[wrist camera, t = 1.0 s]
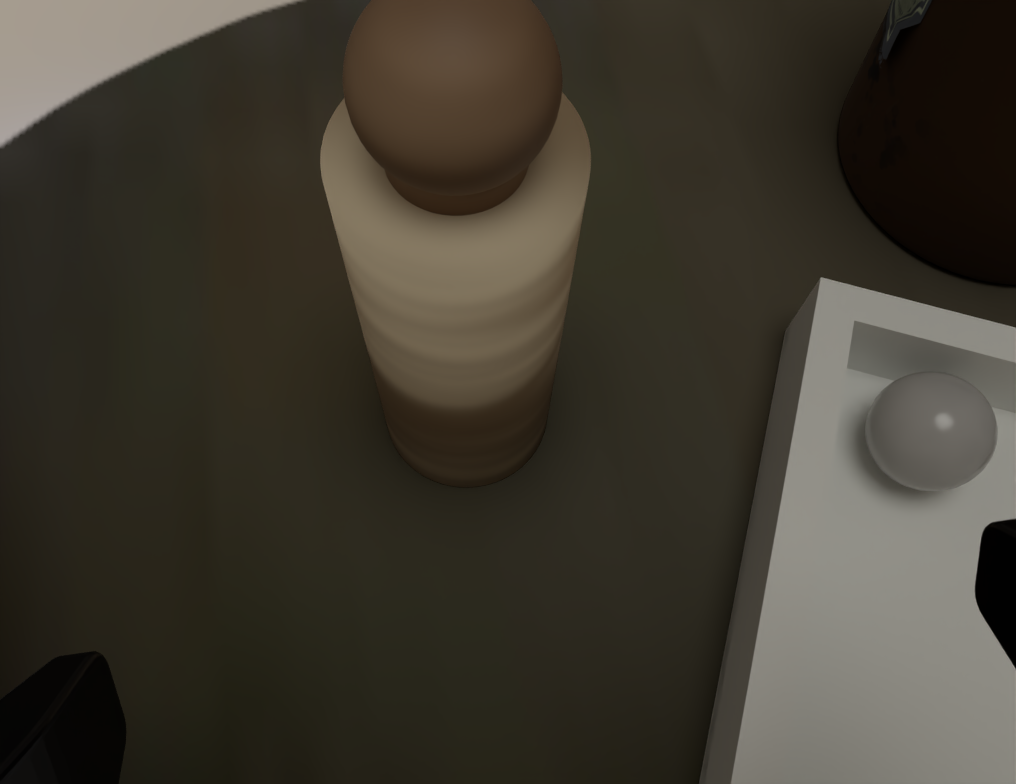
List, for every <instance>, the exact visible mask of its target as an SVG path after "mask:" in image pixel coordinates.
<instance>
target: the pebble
mask: <svg viewBox="0 0 1016 784" xmlns="http://www.w3.org/2000/svg"><path fill="white" fill-rule="evenodd" d="M865 436H866V442H867V446H868V449H869V452H870V454H871V456H872V458H873V460H874V461H875V463H876V464H877V466H878V467H879V468H880V469H881V470H882V471H883V472H884V473H885V474H886V475H887V476H888V477H890V478H891V479H892V480H894V481H896V482H897V483H899V484H901V485H904V486H906V487H909V488H912V489H915V490H920V491H929V492H937V491H945V490H950V489H954V488H957V487H959V486H961V485H963V484H966V483H968V482H969V481H971V480H972V479H974V478H975V477H976V476H977V475H979V474H980V473H981V472H982V471H983V470H984V468H985V467H986V466H987V464H988V463H989V462H990V460H991V458H992V456H993V454H994V451H995V448H996V445H997V438H998V427H997V421H996V417H995V414H994V412H993V409H992V407H991V405H990V403H989V402H988V400H987V399H986V397H985V396H984V395H983V394H982V393H981V392H980V391H979V390H978V389H977V388H976V387H975V386H973V385H972V384H971V383H969V382H967V381H966V380H964V379H962V378H959V377H957V376H955V375H952V374H948V373H944V372H935V371H924V372H917V373H912V374H909V375H906V376H904V377H901V378H899V379H897V380H895V381H894V382H892V383H890V384H889V385H888V386H887V387H885V388H884V389H883V390H882V391H881V392H880V393H879V395H878V396H877V397H876V398H875V400H874V401H873V403H872V405H871V407H870V409H869V412H868V414H867V419H866V425H865Z"/></svg>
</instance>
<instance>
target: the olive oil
mask: <svg viewBox="0 0 1016 784" xmlns="http://www.w3.org/2000/svg"><path fill="white" fill-rule="evenodd" d="M838 144H839V152H840V157H841V162H842V165H843V169H844V172H845V174H846V177H847V179H848V181H849V184H850V186H851V188H852V189H853V191H854V193H855V195H856V196H857V198H858V199H859V201H860V202H861V204H862V205H863V207H864V208H865V209H866V211H867V212H868V213H869V214H870V216H871V217H872V218H873V219H874V220H875V221H876V222H877V223H878V224H879V225H880V226H881V227H882V228H883V229H884V230H885V231H886V232H887V233H888V234H889V235H890V236H892V237H893V238H894V239H895V240H896V241H898V242H899V243H900V244H902V245H903V246H904V247H906V248H907V249H909V250H910V251H912V252H913V253H915V254H917V255H918V256H920V257H922V258H923V259H925V260H927V261H929V262H931V263H933V264H935V265H937V266H939V267H941V268H944V269H946V270H949V271H951V272H954V273H957V274H960V275H963V276H966V277H969V278H973V279H977V280H981V281H986V282H992V283H999V284H1009V285H1016V0H892V1H891V4H890V6H889V9H888V12H887V14H886V16H885V18H884V20H883V22H882V24H881V26H880V28H879V30H878V32H877V34H876V37H875V39H874V41H873V43H872V45H871V47H870V49H869V51H868V53H867V55H866V57H865V59H864V61H863V63H862V65H861V67H860V70H859V72H858V74H857V76H856V78H855V80H854V82H853V84H852V86H851V88H850V91H849V93H848V95H847V98H846V100H845V103H844V105H843V109H842V112H841V117H840V121H839V130H838Z"/></svg>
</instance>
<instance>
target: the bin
mask: <svg viewBox="0 0 1016 784" xmlns="http://www.w3.org/2000/svg"><path fill="white" fill-rule="evenodd" d="M924 371H935V372H944V373H948V374H952V375H955V376H957V377H959V378H962V379H964V380H966V381H967V382H969V383H971V384H972V385H973V386H975V387H976V388H977V389H978V390H979V391H980V392H981V393H982V394H983V395H984V396H985V397H986V399H987V400H988V402H989V403H990V405H991V407H992V409H993V412H994V414H995V417H996V421H997V427H998V438H997V445H996V448H995V451H994V454H993V456H992V458H991V460H990V462H989V463H988V464H987V466H986V467H985V468H984V470H983V471H982V472H981V473H980V474H979V475H977V476H976V477H975V478H974V479H972V480H971V481H969V482H968V483H966V484H963V485H961V486H959V487H957V488H954V489H950V490H945V491H937V492H929V491H920V490H915V489H912V488H909V487H906V486H904V485H901V484H899V483H897V482H896V481H894V480H892V479H891V478H890V477H888V476H887V475H886V474H885V473H884V472H883V471H882V470H881V469H880V468H879V467H878V466H877V464H876V463H875V461H874V460H873V458H872V456H871V454H870V452H869V449H868V446H867V442H866V436H865V425H866V419H867V414H868V412H869V409H870V407H871V405H872V403H873V401H874V400H875V398H876V397H877V396H878V395H879V393H880V392H881V391H882V390H883V389H884V388H885V387H887V386H888V385H889V384H890V383H892V382H894V381H895V380H897V379H899V378H901V377H904V376H906V375H909V374H912V373H917V372H924ZM1015 518H1016V328H1015V327H1011V326H1007V325H1003V324H999V323H996V322H992V321H988V320H984V319H980V318H976V317H972V316H968V315H965V314H961V313H957V312H953V311H949V310H945V309H941V308H938V307H934V306H930V305H926V304H922V303H918V302H914V301H911V300H907V299H903V298H899V297H895V296H891V295H887V294H883V293H880V292H876V291H872V290H868V289H864V288H860V287H856V286H853V285H849V284H845V283H841V282H837V281H833V280H829V279H826V278H822V277H821V278H820V279H819V281H818V282H817V284H816V285H815V287H814V288H813V290H812V291H811V293H810V294H809V296H808V297H807V299H806V300H805V302H804V303H803V305H802V306H801V308H800V309H799V311H798V312H797V314H796V315H795V317H794V318H793V320H792V321H791V323H790V325H789V326H788V328H787V329H786V331H785V335H784V340H783V345H782V350H781V356H780V361H779V366H778V371H777V377H776V382H775V387H774V392H773V398H772V403H771V408H770V413H769V419H768V424H767V429H766V434H765V440H764V445H763V450H762V455H761V460H760V466H759V471H758V476H757V481H756V487H755V492H754V497H753V502H752V508H751V513H750V518H749V523H748V529H747V534H746V539H745V544H744V550H743V555H742V560H741V565H740V570H739V576H738V581H737V586H736V591H735V597H734V602H733V607H732V612H731V618H730V623H729V628H728V633H727V639H726V644H725V649H724V654H723V660H722V665H721V670H720V675H719V680H718V686H717V691H716V696H715V701H714V707H713V712H712V717H711V722H710V728H709V733H708V738H707V743H706V749H705V754H704V759H703V764H702V770H701V775H700V780H699V784H1016V669H1015V667H1014V666H1013V664H1012V662H1011V661H1010V659H1009V658H1008V656H1007V654H1006V653H1005V651H1004V650H1003V648H1002V646H1001V645H1000V643H999V642H998V640H997V638H996V637H995V635H994V634H993V632H992V630H991V629H990V627H989V626H988V624H987V623H986V621H985V619H984V618H983V616H982V614H981V612H980V611H979V608H978V606H977V603H976V598H975V580H976V573H977V565H978V558H979V550H980V542H981V536H982V532H983V530H984V529H985V527H986V526H987V525H988V524H990V523H991V522H995V521H1002V520H1009V519H1015Z"/></svg>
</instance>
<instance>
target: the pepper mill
mask: <svg viewBox="0 0 1016 784" xmlns="http://www.w3.org/2000/svg"><path fill="white" fill-rule="evenodd" d="M343 89H344V97H345V98H344V99H343V101H342V102H341V103H340V104H339V106H338V107H337V108H336V110H335V112H334V114H333V115H332V117H331V119H330V121H329V123H328V126H327V128H326V131H325V134H324V137H323V142H322V147H321V159H320V166H321V175H322V180H323V184H324V188H325V192H326V196H327V199H328V203H329V207H330V211H331V214H332V218H333V222H334V226H335V230H336V233H337V237H338V241H339V245H340V249H341V252H342V256H343V260H344V264H345V267H346V271H347V275H348V279H349V283H350V286H351V290H352V294H353V298H354V302H355V305H356V309H357V313H358V317H359V320H360V324H361V328H362V332H363V336H364V339H365V343H366V347H367V351H368V355H369V358H370V362H371V366H372V370H373V373H374V377H375V381H376V385H377V389H378V392H379V396H380V400H381V404H382V408H383V411H384V415H385V419H386V423H387V426H388V430H389V434H390V437H391V439H392V442H393V444H394V446H395V448H396V449H397V451H398V453H399V454H400V455H401V457H402V458H403V459H404V460H405V462H406V463H407V464H409V465H410V466H411V467H412V468H413V469H414V470H415V471H417V472H418V473H420V474H421V475H423V476H425V477H427V478H428V479H430V480H432V481H435V482H438V483H441V484H444V485H449V486H454V487H478V486H484V485H488V484H491V483H495V482H497V481H500V480H502V479H504V478H506V477H508V476H510V475H511V474H513V473H515V472H516V471H517V470H518V469H520V468H521V467H522V466H523V465H524V464H525V463H526V462H527V461H528V460H529V459H530V458H531V457H532V455H533V454H534V453H535V451H536V450H537V448H538V446H539V444H540V442H541V440H542V437H543V435H544V432H545V427H546V423H547V417H548V411H549V406H550V400H551V394H552V388H553V383H554V377H555V371H556V366H557V360H558V354H559V348H560V343H561V337H562V331H563V325H564V320H565V314H566V308H567V303H568V297H569V291H570V285H571V280H572V274H573V268H574V262H575V257H576V251H577V245H578V240H579V234H580V228H581V222H582V217H583V211H584V205H585V200H586V194H587V188H588V182H589V177H590V167H591V153H590V144H589V140H588V136H587V132H586V129H585V127H584V125H583V122H582V120H581V118H580V116H579V114H578V113H577V111H576V109H575V108H574V106H573V105H572V103H571V102H570V101H569V100H568V99H567V97H566V96H565V95H564V94H563V93H562V68H561V61H560V56H559V52H558V48H557V45H556V42H555V39H554V37H553V34H552V32H551V30H550V27H549V26H548V24H547V22H546V21H545V19H544V17H543V16H542V14H541V13H540V11H539V9H538V8H537V7H536V6H535V5H534V4H533V2H532V1H531V0H371V2H370V3H369V4H368V5H367V7H366V8H365V9H364V10H363V12H362V13H361V15H360V17H359V19H358V20H357V22H356V24H355V26H354V28H353V30H352V33H351V35H350V38H349V41H348V45H347V48H346V53H345V57H344V66H343Z"/></svg>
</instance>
